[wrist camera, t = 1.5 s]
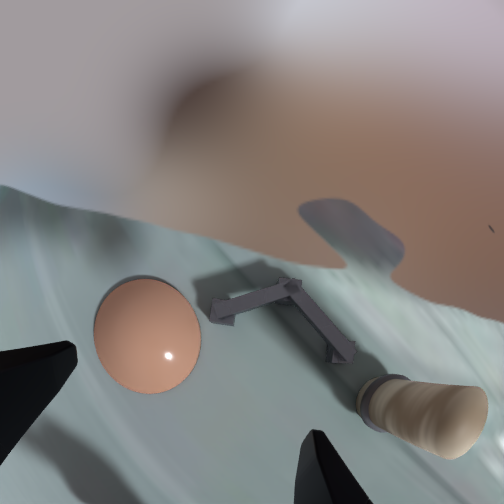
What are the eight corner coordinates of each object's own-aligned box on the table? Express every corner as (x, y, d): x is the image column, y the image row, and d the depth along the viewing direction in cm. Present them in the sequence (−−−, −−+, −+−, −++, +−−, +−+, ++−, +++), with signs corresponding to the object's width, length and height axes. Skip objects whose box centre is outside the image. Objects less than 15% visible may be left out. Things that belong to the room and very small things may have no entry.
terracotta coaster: (192, 404, 22) (191, 405, 21) (90, 374, 22) (87, 375, 21) (209, 290, 25) (208, 288, 25) (108, 272, 26) (106, 270, 25)
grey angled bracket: (345, 362, 23) (358, 364, 20) (208, 348, 24) (202, 348, 20) (351, 291, 26) (363, 283, 22) (219, 274, 26) (216, 265, 23)
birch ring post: (395, 422, 21) (480, 452, 9) (347, 426, 21) (421, 474, 9) (403, 371, 23) (496, 374, 10) (356, 372, 23) (441, 385, 11)
